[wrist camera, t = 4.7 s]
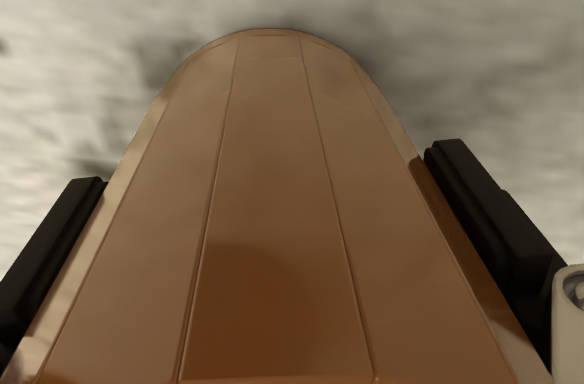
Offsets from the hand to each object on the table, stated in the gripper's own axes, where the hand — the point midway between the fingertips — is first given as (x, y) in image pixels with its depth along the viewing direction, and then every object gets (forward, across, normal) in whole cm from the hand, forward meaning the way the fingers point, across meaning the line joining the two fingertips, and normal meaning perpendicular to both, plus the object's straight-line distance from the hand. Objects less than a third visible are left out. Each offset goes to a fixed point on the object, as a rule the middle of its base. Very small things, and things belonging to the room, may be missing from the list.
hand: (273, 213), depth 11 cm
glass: (+3, 0, 0) cm, 3 cm away
